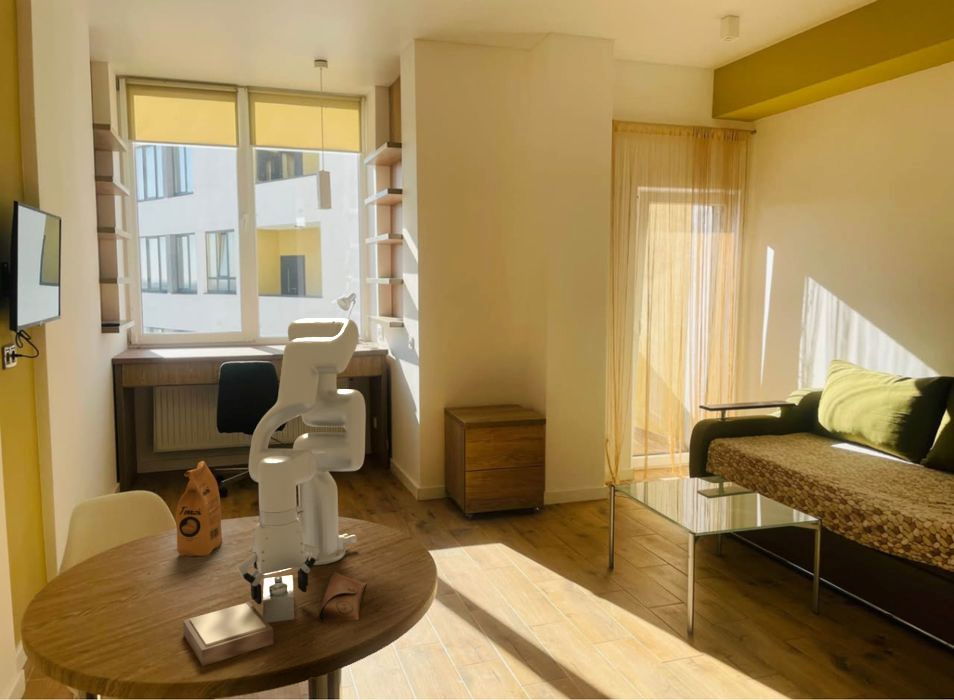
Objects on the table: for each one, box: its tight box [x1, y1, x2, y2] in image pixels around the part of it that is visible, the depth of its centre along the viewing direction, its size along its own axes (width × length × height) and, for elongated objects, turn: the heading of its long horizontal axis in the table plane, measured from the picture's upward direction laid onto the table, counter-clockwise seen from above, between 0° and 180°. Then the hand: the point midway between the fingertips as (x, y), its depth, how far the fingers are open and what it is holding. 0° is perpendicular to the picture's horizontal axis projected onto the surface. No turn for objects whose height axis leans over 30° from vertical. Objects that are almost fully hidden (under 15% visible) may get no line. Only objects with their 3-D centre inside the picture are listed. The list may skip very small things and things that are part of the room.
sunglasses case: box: [318, 571, 367, 623], centre depth 149 cm, size 18×7×7 cm
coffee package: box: [175, 460, 223, 557], centre depth 179 cm, size 10×12×22 cm
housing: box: [262, 574, 295, 624], centre depth 145 cm, size 6×11×6 cm, turn 16°
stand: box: [182, 601, 275, 667], centre depth 133 cm, size 13×14×3 cm
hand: (280, 595), depth 145 cm, fingers open, 9 cm apart
